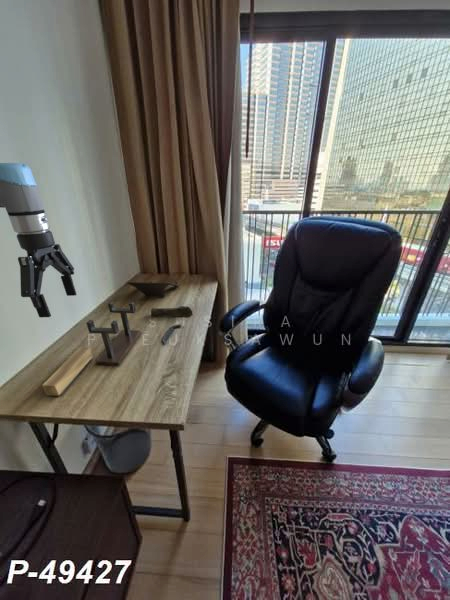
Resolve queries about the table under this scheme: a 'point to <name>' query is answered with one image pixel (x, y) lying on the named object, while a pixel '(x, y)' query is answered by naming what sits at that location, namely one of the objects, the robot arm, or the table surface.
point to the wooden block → (68, 372)
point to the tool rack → (122, 342)
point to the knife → (170, 333)
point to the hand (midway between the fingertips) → (59, 305)
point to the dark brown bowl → (152, 288)
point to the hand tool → (171, 311)
